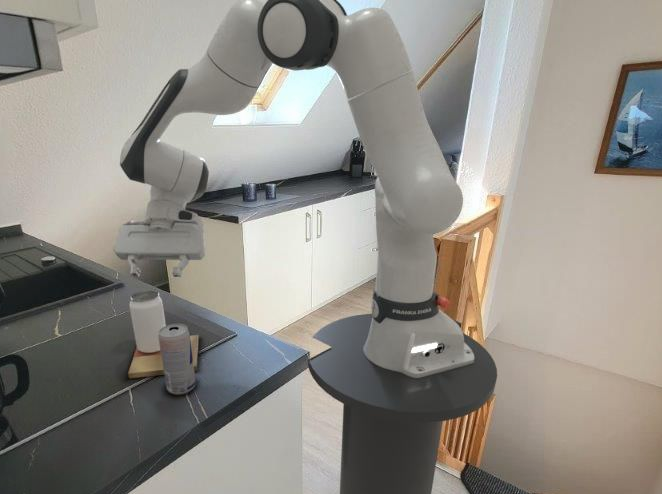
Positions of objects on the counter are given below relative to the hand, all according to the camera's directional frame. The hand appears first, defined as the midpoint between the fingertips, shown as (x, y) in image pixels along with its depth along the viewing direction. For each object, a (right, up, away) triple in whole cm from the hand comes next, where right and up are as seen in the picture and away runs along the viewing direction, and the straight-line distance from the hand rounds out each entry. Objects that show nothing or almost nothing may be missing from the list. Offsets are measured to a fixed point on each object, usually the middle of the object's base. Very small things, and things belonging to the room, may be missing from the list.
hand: (155, 275), depth 88 cm
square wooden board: (+3, -17, -3) cm, 18 cm away
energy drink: (+9, -21, -12) cm, 26 cm away
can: (0, -15, -1) cm, 16 cm away
